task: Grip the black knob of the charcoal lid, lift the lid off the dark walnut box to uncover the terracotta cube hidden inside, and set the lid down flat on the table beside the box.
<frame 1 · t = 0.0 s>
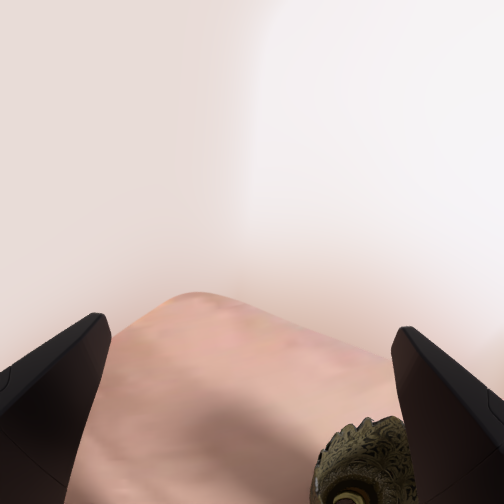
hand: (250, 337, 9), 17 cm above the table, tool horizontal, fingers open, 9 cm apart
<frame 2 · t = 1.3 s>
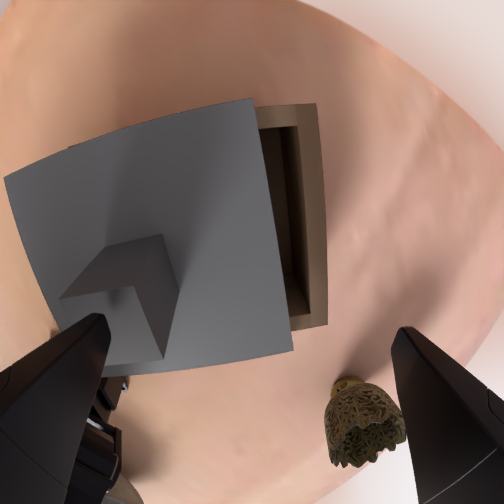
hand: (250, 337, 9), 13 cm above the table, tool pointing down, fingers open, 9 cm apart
walnut box: (210, 212, 20), on the table
bowl: (85, 463, 32), on the table
lid: (146, 261, 15), point 6 cm above the table, touching walnut box
cup: (345, 384, 28), on the table
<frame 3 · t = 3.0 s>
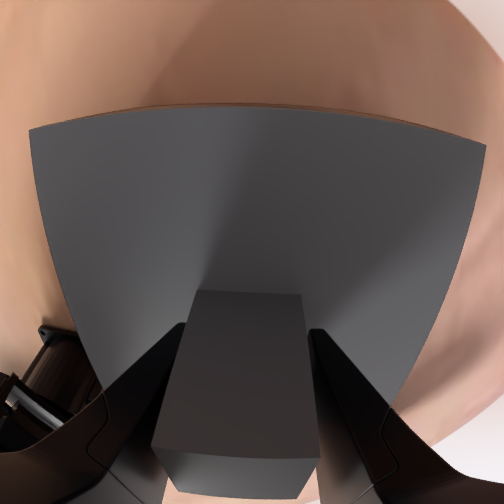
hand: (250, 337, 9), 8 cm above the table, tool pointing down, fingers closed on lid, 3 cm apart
walnut box: (260, 226, 15), on the table
lid: (249, 311, 10), point 6 cm above the table, touching gripper, walnut box
when the fingers open (3 cm above the table, at t = 9.3 s): lid drops 2 cm, on the table.
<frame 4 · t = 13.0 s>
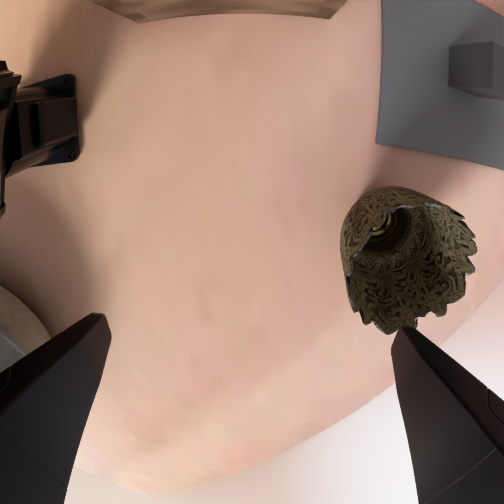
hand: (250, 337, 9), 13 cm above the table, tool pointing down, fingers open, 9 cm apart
bowl: (17, 321, 28), on the table
lid: (457, 72, 15), on the table
cup: (371, 214, 21), on the table
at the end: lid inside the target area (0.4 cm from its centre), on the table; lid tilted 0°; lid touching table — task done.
